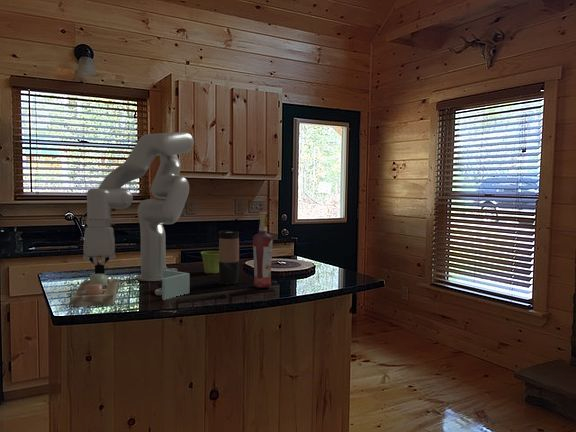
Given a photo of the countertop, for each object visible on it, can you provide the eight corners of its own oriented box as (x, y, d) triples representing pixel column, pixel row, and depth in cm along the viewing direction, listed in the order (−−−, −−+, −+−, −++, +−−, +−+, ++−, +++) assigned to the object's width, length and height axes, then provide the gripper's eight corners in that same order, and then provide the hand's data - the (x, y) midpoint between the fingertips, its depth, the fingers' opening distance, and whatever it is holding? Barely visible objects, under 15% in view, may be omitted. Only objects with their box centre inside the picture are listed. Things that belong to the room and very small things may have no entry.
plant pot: (213, 269, 215) (213, 250, 214) (227, 272, 209) (227, 252, 208) (196, 272, 208) (196, 252, 208) (209, 275, 202) (209, 254, 201)
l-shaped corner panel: (164, 290, 177) (164, 269, 177) (189, 294, 171) (189, 273, 170) (138, 296, 167) (138, 274, 166) (164, 301, 161) (164, 279, 160)
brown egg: (103, 298, 160) (103, 283, 160) (101, 302, 156) (101, 286, 155) (87, 299, 159) (87, 284, 159) (85, 303, 154) (85, 287, 154)
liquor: (268, 290, 176) (269, 213, 174) (249, 288, 178) (249, 212, 176) (274, 286, 183) (275, 211, 181) (256, 284, 185) (257, 211, 183)
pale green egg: (105, 287, 168) (105, 273, 167) (104, 290, 163) (104, 276, 163) (90, 288, 166) (90, 273, 166) (89, 291, 162) (88, 276, 161)
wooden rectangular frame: (119, 286, 179) (119, 278, 179) (113, 304, 154) (113, 295, 154) (84, 288, 176) (83, 280, 176) (72, 306, 151) (71, 297, 151)
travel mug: (242, 282, 189) (242, 231, 188) (232, 286, 182) (232, 232, 181) (225, 280, 192) (225, 229, 191) (214, 284, 186) (214, 231, 184)
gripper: (122, 222, 176) (122, 273, 178) (77, 223, 172) (78, 274, 174) (120, 224, 169) (121, 277, 170) (74, 225, 165) (75, 278, 167)
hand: (99, 275), depth 172 cm, fingers closed
